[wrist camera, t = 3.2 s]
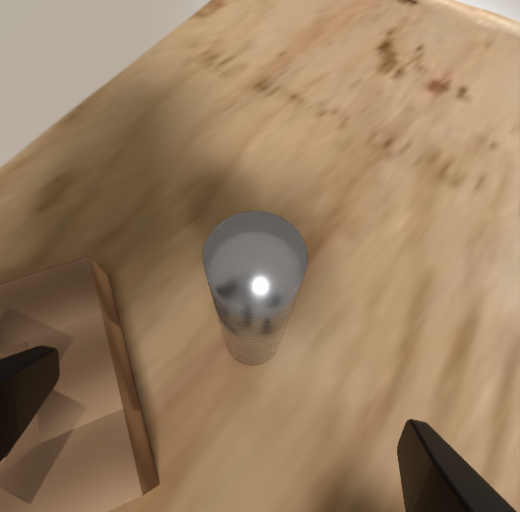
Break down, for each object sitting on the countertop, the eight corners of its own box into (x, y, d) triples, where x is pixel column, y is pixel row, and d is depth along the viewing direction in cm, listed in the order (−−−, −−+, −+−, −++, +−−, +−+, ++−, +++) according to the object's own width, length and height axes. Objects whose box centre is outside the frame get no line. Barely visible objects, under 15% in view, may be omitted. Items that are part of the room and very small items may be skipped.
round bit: (288, 352, 20) (325, 281, 10) (236, 374, 20) (223, 321, 10) (266, 303, 21) (281, 199, 12) (218, 322, 21) (189, 229, 11)
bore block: (159, 484, 17) (142, 495, 14) (-116, 613, 15) (-196, 654, 12) (108, 276, 22) (88, 255, 19) (-105, 349, 20) (-162, 337, 17)
